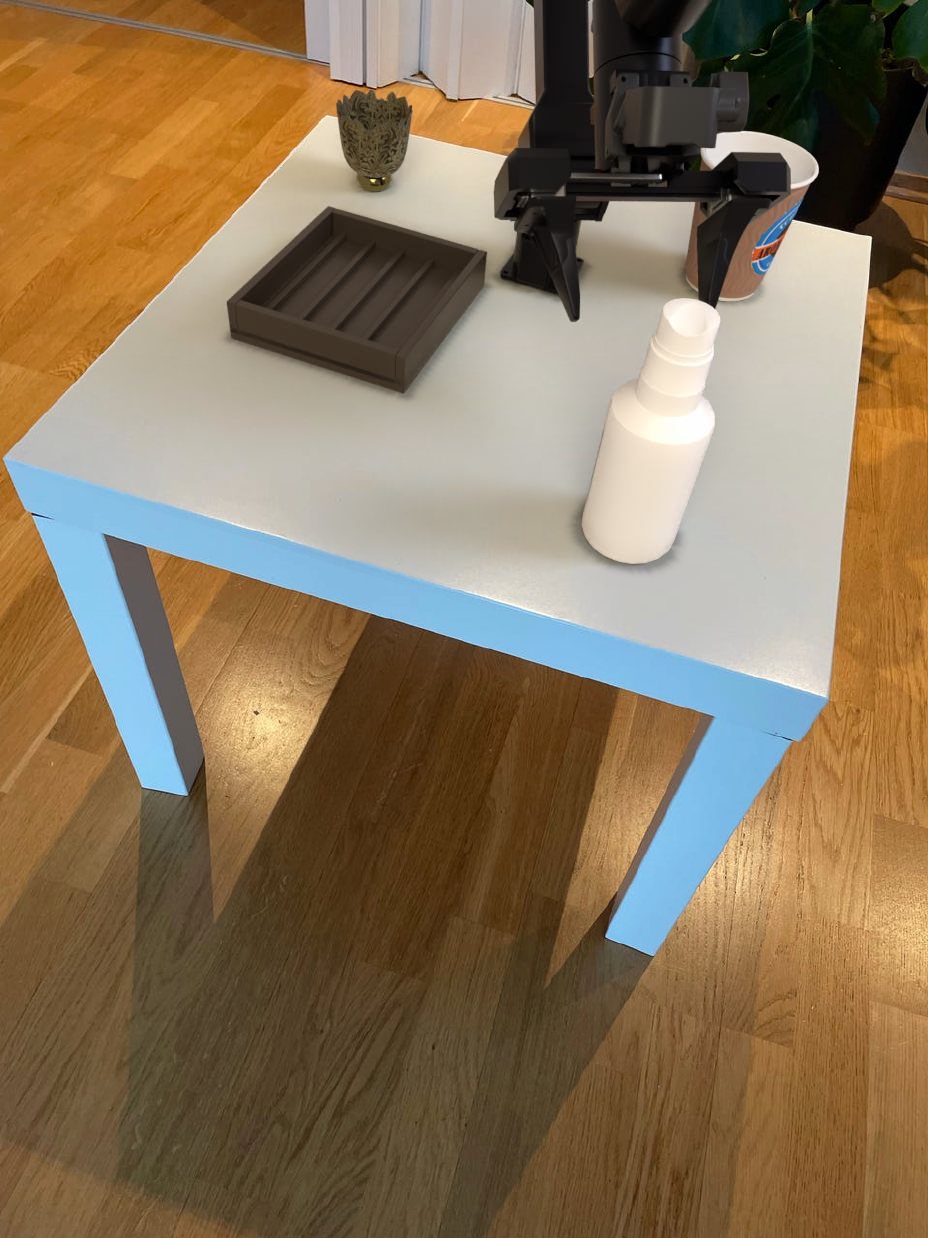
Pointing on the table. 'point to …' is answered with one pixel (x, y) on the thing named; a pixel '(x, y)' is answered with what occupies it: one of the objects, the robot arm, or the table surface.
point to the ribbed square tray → (359, 297)
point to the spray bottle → (654, 440)
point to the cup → (374, 136)
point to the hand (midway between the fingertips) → (641, 320)
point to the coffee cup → (764, 231)
